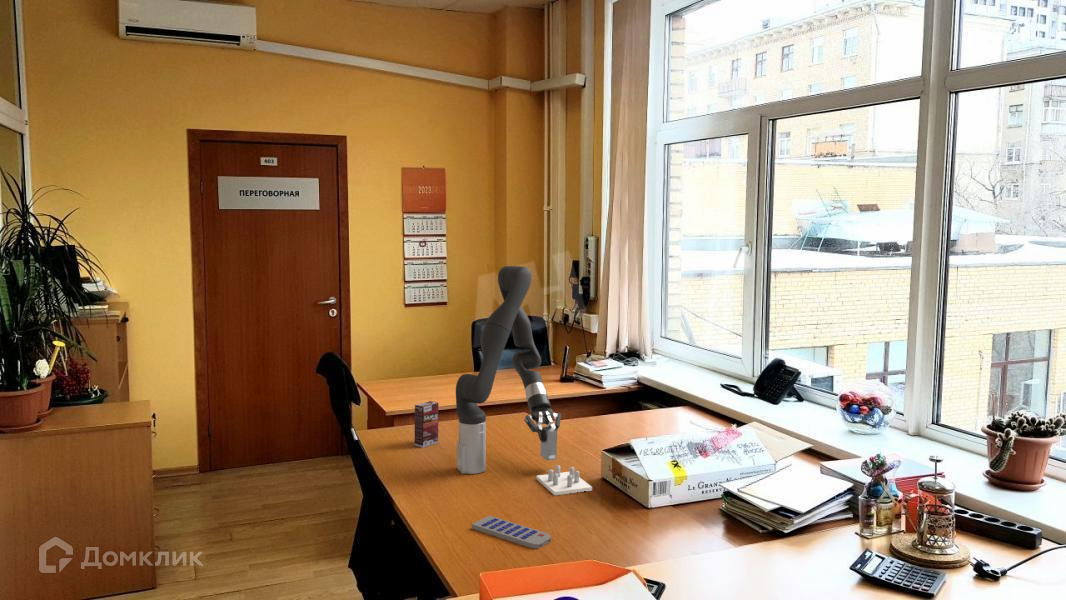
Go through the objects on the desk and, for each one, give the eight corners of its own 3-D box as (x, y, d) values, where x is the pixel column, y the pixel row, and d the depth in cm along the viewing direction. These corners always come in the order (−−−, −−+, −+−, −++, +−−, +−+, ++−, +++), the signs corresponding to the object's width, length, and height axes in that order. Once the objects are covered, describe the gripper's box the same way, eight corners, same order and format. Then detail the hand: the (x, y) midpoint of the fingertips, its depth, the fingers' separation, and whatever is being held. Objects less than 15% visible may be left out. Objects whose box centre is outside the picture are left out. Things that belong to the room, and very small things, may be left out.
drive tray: (554, 495, 245) (554, 481, 244) (536, 479, 259) (536, 465, 259) (592, 490, 249) (592, 476, 249) (571, 474, 264) (572, 461, 263)
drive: (547, 460, 264) (548, 432, 263) (540, 455, 270) (541, 427, 269) (556, 459, 265) (557, 431, 264) (549, 454, 271) (550, 426, 270)
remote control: (489, 521, 225) (489, 514, 225) (553, 541, 212) (553, 533, 211) (471, 530, 219) (471, 523, 218) (536, 551, 205) (536, 543, 205)
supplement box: (423, 448, 292) (422, 406, 290) (414, 445, 295) (413, 404, 293) (439, 442, 299) (439, 402, 297) (430, 440, 302) (430, 400, 300)
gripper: (521, 393, 271) (533, 436, 261) (558, 391, 277) (571, 433, 267) (516, 405, 277) (527, 448, 267) (552, 402, 282) (565, 444, 272)
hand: (549, 440), depth 267 cm, fingers closed on drive, 3 cm apart
